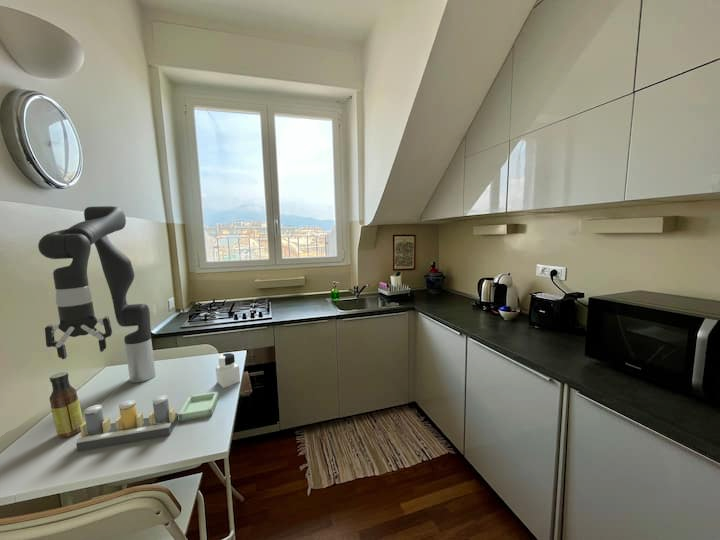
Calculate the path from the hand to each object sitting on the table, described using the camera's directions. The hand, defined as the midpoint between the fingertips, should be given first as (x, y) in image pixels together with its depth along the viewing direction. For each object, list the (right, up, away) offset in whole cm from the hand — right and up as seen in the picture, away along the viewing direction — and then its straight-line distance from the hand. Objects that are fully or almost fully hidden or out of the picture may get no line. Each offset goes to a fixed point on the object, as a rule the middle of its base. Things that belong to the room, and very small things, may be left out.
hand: (83, 354), depth 89 cm
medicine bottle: (+28, -22, +36) cm, 51 cm away
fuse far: (+20, -23, +6) cm, 31 cm away
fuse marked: (+11, -24, +4) cm, 27 cm away
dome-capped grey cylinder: (+3, -24, +2) cm, 25 cm away
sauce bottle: (-10, -27, +6) cm, 29 cm away
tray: (+26, -24, +17) cm, 39 cm away
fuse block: (+11, -26, +4) cm, 29 cm away
